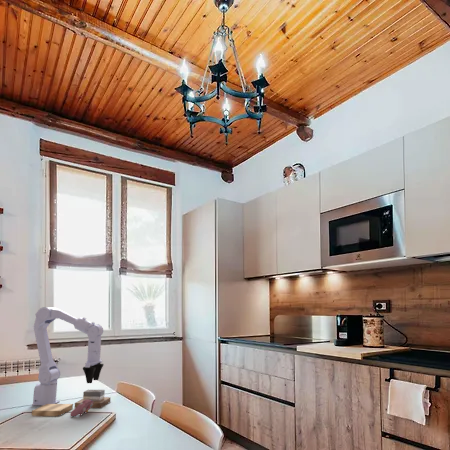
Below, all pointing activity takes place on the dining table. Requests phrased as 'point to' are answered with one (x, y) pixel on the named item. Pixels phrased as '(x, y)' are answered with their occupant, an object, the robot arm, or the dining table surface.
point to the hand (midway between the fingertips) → (92, 381)
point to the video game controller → (82, 407)
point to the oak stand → (52, 409)
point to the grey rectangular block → (93, 395)
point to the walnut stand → (96, 403)
